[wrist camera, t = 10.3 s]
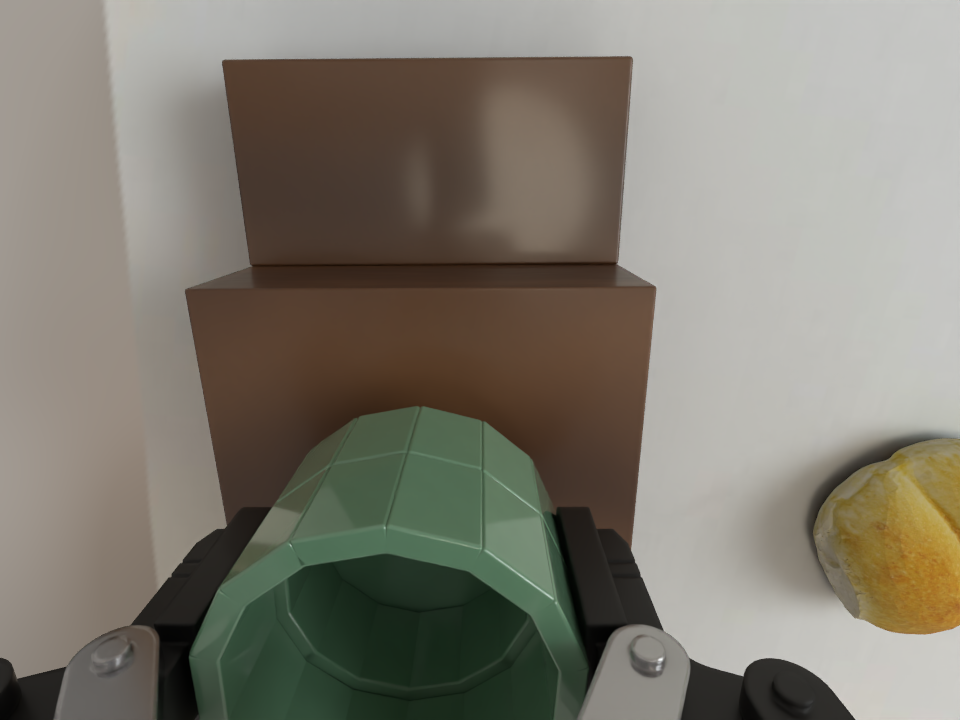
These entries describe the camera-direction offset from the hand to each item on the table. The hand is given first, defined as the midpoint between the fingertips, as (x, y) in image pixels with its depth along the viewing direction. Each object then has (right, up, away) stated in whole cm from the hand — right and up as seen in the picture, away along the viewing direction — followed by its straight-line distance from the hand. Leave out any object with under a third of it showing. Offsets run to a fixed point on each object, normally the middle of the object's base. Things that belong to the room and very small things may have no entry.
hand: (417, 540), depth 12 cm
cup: (0, 0, +1) cm, 1 cm away
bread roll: (+20, -3, +11) cm, 24 cm away
